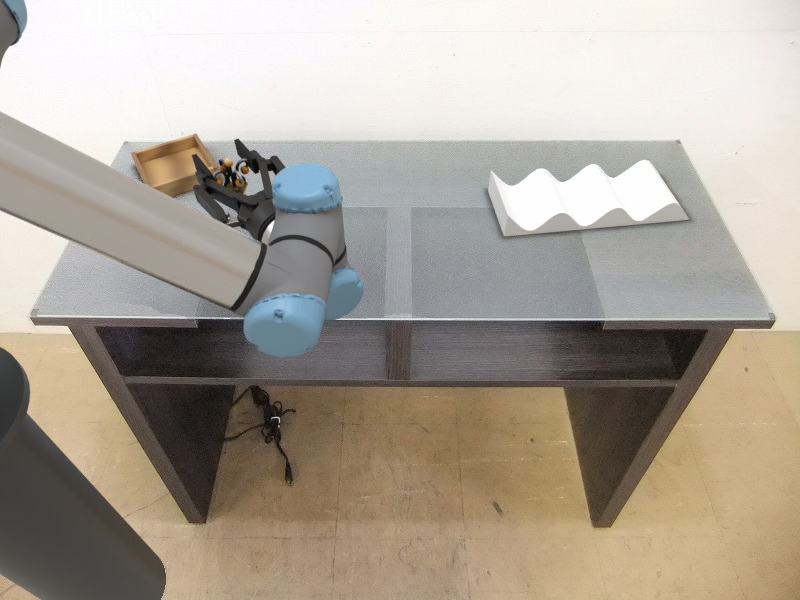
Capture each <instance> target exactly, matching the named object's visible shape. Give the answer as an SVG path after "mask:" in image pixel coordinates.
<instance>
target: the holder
mask: <svg viewBox="0 0 800 600" xmlns="http://www.w3.org/2000/svg"><path fill="white" fill-rule="evenodd" d="M130 154H131V158H132V160H133V163H134V165H135V168H136V170H137V172H138V174H139V175H140V178H141V179H142V183H144V184H146V185H148V186H150V187H152V188H154V189H156V190H158V191H160V192H162V193H164V194H166V195H168V196H170V197H172V198H173V197H176V196H178V195H181V194H185V193H187V192H190V191H193V186H195V185H200V184H199V183H198V181H197V178H196V175H195V172H196V171H197V170H196V168H195V165H194V161H193V158H192V155H193V154H197V155H198V157H199V158H200V159H201V160H202V162H203V163H204V164H205V165H206V166H207V168H208V169H209V170H210V171H211V173H212V174H213V173H214V172H215V171H217V170H219V167H218V165H217V163H216V161H215V160H214V159H213V157H212V156H211V154H210V153H209V151H208V149H207V148H206V146H205V145H204V143H203V142H202V140H201V138H200V137H199V134H197V133H193V134H190V135H187V136H183V137H179V138H176V139H173V140H170V141H165V142H162V143H160V144H156V145H153V146H148V147H146V148H142V149H139V150H135V151H132V152H130ZM216 178H220V179H222V178H221V173H219V174H217V175H216Z"/></svg>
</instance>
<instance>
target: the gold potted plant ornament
mask: <svg viewBox="0 0 800 600" xmlns="http://www.w3.org/2000/svg"><path fill="white" fill-rule="evenodd" d="M242 163H244V164H245V165H242V166H241V164H242ZM218 164H219V167H218V170H217V171H215V172H214V173H213V177H214V180H215V182H217V183H219V184H221V185H223V186H225V187H226V188H228V189H230V190H232V191H234V192H236V193H239V192H240V193H242V194H244V195H246V196H248V195H247V194H246V192H247V189H248V186H249V183H248V182H247V179H246V177H245V176H244V175H248V174H249V173H250V168H249V162H248V160H247V159H241V158H240V159H239V160H238V161H237V162H236V164H235V167H234V168H235V169H234V170H233V168H232V167H233V165H234V161H233V159H232V158H230V157H226V158H225V159H224V158H222V157H221V158H218ZM217 174H222V175H223V177H224V181H223V179H222V178H221V179H220V178H216V175H217Z"/></svg>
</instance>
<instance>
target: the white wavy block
mask: <svg viewBox="0 0 800 600" xmlns="http://www.w3.org/2000/svg"><path fill="white" fill-rule="evenodd" d="M487 193H488V195H489V198H490V201H491V203H492V208H493V209H494V213H495V216H496V218H497V221H498V223H499V227H500V230H501V232H502V235H503V237H514V236H515V237H516V236H525V235H527V236H528V235H537V234H548V233H558V232H569V231H570V232H571V231H581V230H592V229H603V228H614V227H615V228H616V227H624V226H625V227H627V226H635V225H647V224H657V223H659V224H660V223H668V222H681V221H689V220H690V218H689V217H688V215H687V213H686V212H685V210H684V209H683V207H682V205H680V203H679V201H678V200H677V199H676V197H675V196H674V194H673V193H672V191H671V189H670V188H669V187H668V185H667V184H666V182H665V181H664V179H663V178H662V176H661V175H660V173H659V172H658V170H657V169H656V167H655V165H654V164H653V163H652V162H651V161H649V160H648V159H642V160H639V161H637V162H636V163H635V164H633V165H631V166H630V167H629V168H627V169H626V170H624V171H623V172H621V173H619V174H618V175H616V176H615V177H611V176H609V175H608V174H606V172H605V171H604V170H603V169H602V167H601V166H600V165H598V164H596V163H591V164H588V165H586V166H585V167H583V168H582V169H581V170H580V171H578V172H577V173H576V174H575V175H573V176H572V177H571V178H570V179H568V180H565V181H560V180H558V179H557V178H556V177H555V176H553V175H552V174H551V172H550V171H549V170H547V169H546V168H542V167H541V168H537V169H535V170H534V171H532V172H531V173H529V174H528V175H527V176H526V177H525V178H524V179H522V180H521V181H520V182H518V183H516V184H514V185H509V184H507V183H506V182H505V181H503V180H502V179H501V178H500V177H499V176H497V174H496V173H495V172H494V171H493V170H492V169H490V173H489V180H488V188H487Z"/></svg>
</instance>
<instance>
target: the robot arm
mask: <svg viewBox="0 0 800 600" xmlns="http://www.w3.org/2000/svg"><path fill="white" fill-rule="evenodd" d="M27 24H28V9H27V5H26V1H25V0H0V68H1V66H2V62H3V59H4V56H5V54H6V52H7V51H8V49H9V48H10V47H12V46H15V45H16V44H17V43H19V42H20V40H21V38H22V36H23V34H24V32H25V29H26V27H27ZM233 141H234V145H235V149H236V150H235V151H236V153H237V156H238V157H239V158H240V160H241V159H247V160H248V162H249V167H248V168H249V170H251V171H252V173H253V174H254V175H257V174H259V173H260V177H261V183H262V187H263V189H262V190H260V191H257V192H256V193H254V194H249V195H247V194H246V195H247V196H246V195H244V194H242V193H240V192H239V193H236V192H234V191H232V190H230V189H228V188H226V187H225V186H223V185H224V184H223V185H221V184H219V183H217V182H215V180H214V177H213V174H212V173H211V171H210V170H209V169H208V168H207V166H206V165H205V164H204V163H203V162H202V160H201V159H200V158H199V157H198V155H197V154H193V155H192V158H193V161H194V165H195V168H196V170H197V171H196V172H195V175H196V178H197V181H198V183H199V184H200V185H195V186H193V190H192V191H193V193H194V196H195V199H196V202H197V204H198V205H199V206H200V207H202V208H203V210H205V212H206V213H207V214H206V213H204V212H202V211H200V210H198V209H196V208H194V207H192V206H191V205H188V204H186V203H184V202H183V201H180V200H179V199H177V198H174V197H173V196H172V197H170V196H168V195H166V194H164V193H162V192H160V191H158V190H156V189H154V188H152V187H150V186H148V185H146V184H144V182H143V181H141V180H138V179H136V178H134V177H132V176H130V175H128V174H126V173H124V172H123V171H120V170H118V169H116V168H114V167H112V166H110V165H108V164H107V163H104V162H102V161H100V160H98V159H96V158H94V157H93V156H91V155H88V154H86V153H84V152H83V151H81V150H78V149H76V148H74V147H72V146H70V145H68V144H66V143H64V142H62V141H61V140H59V139H57V138H55V137H53V136H51V135H49V134H46V133H44V132H43V131H40V130H39V129H37V128H34V127H33V126H31V125H29V124H26V123H24V122H23V121H21V120H18V119H17V118H14V117H12V116H10V115H8V114H7V113H4V112H2V111H0V212H2V213H5V214H7V215H9V216H11V217H14V218H16V219H18V220H21V221H23V222H25V223H28V224H30V225H32V226H35V227H36V228H39V229H41V230H44V231H46V232H48V233H51V234H53V235H56V236H58V237H60V238H62V239H64V240H67V241H69V242H71V243H74V244H76V245H78V246H81V247H82V248H86V249H87V250H90V251H92V252H94V253H96V254H99V255H101V256H104V257H106V258H109V259H111V260H113V261H115V262H118V263H120V264H122V265H125V266H127V267H129V268H131V269H133V270H136V271H138V272H141V273H143V274H145V275H147V276H150V277H152V278H154V279H157V280H159V281H161V282H164V283H166V284H168V285H170V286H172V287H175V288H178V289H179V290H182V291H183V292H186V293H189V294H192V295H193V296H195V297H198V298H201V299H202V300H205V301H206V302H207V301H208V302H210V303H212V304H214V305H217V306H219V307H221V308H223V309H226V310H228V311H231V312H233V314H236V315H239V316H241V317H243V334H244V337H245V339H246V340H247V342H248V343H250V344H251V345H254V348H255V349H256V350H258V351H259V352H261V353H263V354H266V355H269V356H272V357H277V358H295V357H300V356H302V355H305V354H308V352H310V351H311V350H312V349H314V348H316V345H317V344H318V342H319V339H320V337H321V333H322V329H323V326H324V323H325V321H326V322H327V321H328V322H331V321H335V320H339V319H342V317H344V316H347V315H348V314H350V313H351V312H352V311H353V310H354V309H356V307H357V306H358V305H359V304H360V302H361V300H362V298H363V295H364V292H365V284H364V281H363V280H362V278H361V276H360V275H359V274H358V271H357V270H356V269H355V268H354V267H352V266H351V264H350V263H349V259H348V251H347V249H348V248H347V244H346V238H345V227H344V215H343V203H342V202H343V200H344V199H343V196H342V193H341V189H340V182H339V178H338V176H337V175H336V174H335V172H334V171H333V170H332V169H331V168H329V167H327V166H326V165H323V164H320V163H317V162H298V163H294V164H291V165H288V166H287V167H286V165H284V163H283V162H282V161H281V159H280V157H279V156H278V155H271V156H270V157H269V158H265V157H264V156H261V154H260V152H258V151H257V150H255V149H251V150H250V149H249V148H248V147H247V146H246V145H245V144H244V143H243V142H242V141H241V140H240V138H235V139H234V140H233ZM270 172H272V173H273V174H274V178H273V180H272V181H271V176H270ZM219 203H220V204H219ZM221 204H222V205H224V206H226V207H228V208H229V209H231V210H233V211H234V212H235V213H236V214H237V215H236V217H235V216H233V215H232V214H230V212H229V211H225V210H224V207H222V205H221ZM238 227H239V228H241V229H242V230H245V231H247V232H248V234H249V235H248V234H246V233H244V232H242V231H240V230H238V229H236V228H238Z"/></svg>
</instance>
